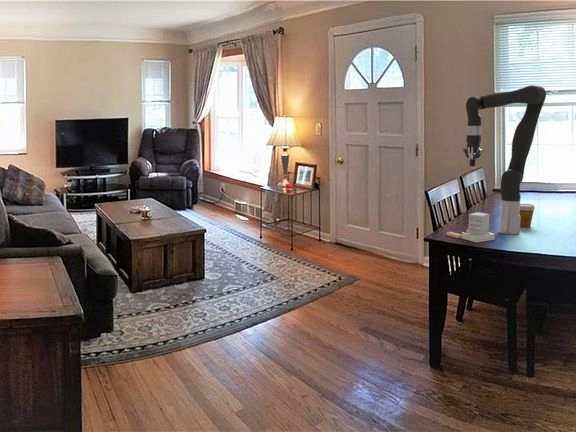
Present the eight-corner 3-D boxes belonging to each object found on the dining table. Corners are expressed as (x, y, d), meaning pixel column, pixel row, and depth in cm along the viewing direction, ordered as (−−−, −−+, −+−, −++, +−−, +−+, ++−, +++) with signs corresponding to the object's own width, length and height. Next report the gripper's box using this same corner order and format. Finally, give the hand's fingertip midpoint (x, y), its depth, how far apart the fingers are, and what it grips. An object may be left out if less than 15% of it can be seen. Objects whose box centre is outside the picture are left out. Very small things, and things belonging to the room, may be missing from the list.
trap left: (462, 237, 278) (462, 234, 278) (457, 238, 277) (457, 235, 277) (451, 234, 285) (451, 231, 285) (446, 235, 284) (446, 232, 284)
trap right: (481, 235, 284) (481, 232, 283) (477, 235, 282) (477, 232, 282) (470, 232, 291) (470, 229, 290) (466, 232, 289) (466, 229, 289)
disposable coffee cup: (536, 226, 302) (537, 204, 300) (529, 229, 296) (531, 207, 293) (518, 224, 309) (520, 202, 307) (511, 226, 302) (513, 205, 300)
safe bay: (494, 239, 273) (494, 233, 273) (476, 242, 268) (476, 236, 268) (479, 235, 282) (479, 229, 282) (461, 238, 277) (461, 232, 277)
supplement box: (475, 236, 281) (476, 212, 279) (488, 238, 276) (490, 213, 273) (467, 238, 276) (468, 213, 274) (481, 241, 271) (482, 215, 268)
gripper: (488, 134, 294) (486, 167, 297) (470, 133, 305) (468, 164, 309) (477, 135, 290) (475, 167, 294) (459, 134, 302) (458, 165, 305)
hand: (472, 166), depth 301 cm, fingers closed
